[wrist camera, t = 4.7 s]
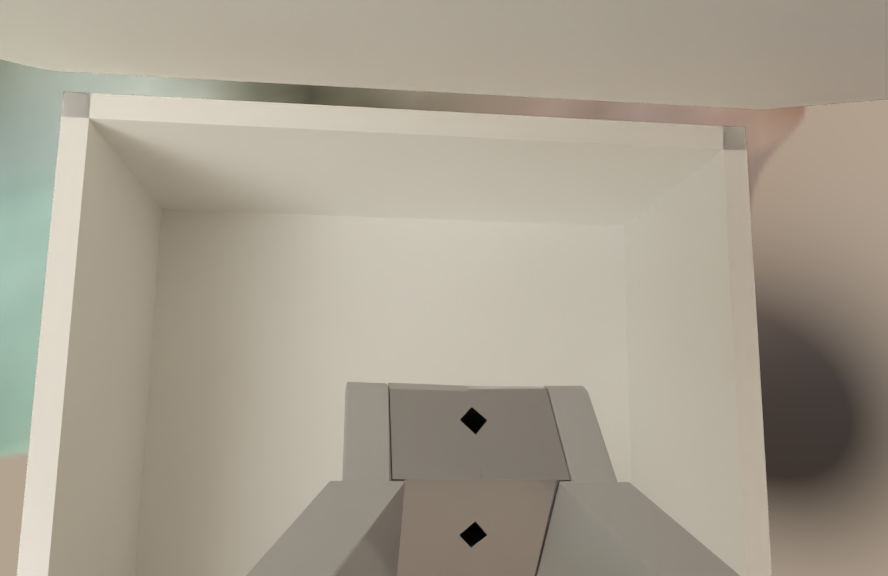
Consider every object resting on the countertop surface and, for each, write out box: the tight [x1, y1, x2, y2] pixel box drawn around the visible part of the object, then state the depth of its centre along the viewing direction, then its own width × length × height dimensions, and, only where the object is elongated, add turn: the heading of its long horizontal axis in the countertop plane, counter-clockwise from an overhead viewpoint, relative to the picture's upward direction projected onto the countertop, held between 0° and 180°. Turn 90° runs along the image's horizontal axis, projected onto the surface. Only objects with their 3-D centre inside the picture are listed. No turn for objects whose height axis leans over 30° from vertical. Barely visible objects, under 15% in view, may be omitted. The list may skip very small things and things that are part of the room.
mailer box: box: [17, 92, 772, 576], centre depth 22 cm, size 16×16×8 cm
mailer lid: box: [0, 0, 888, 110], centre depth 11 cm, size 16×16×1 cm
